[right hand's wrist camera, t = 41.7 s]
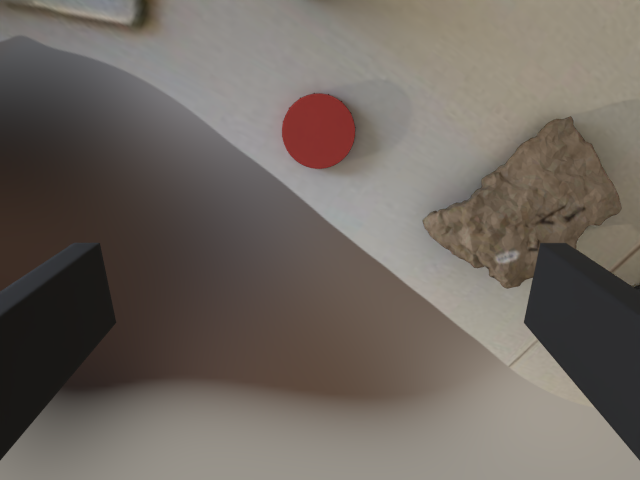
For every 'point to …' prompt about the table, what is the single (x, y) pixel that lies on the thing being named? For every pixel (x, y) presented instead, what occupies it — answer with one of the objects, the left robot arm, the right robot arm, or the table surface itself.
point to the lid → (318, 131)
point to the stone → (529, 205)
